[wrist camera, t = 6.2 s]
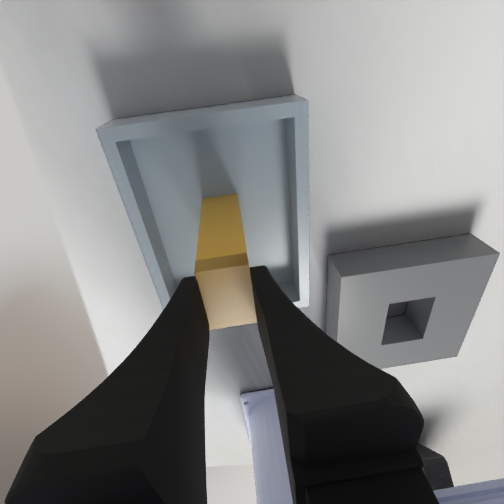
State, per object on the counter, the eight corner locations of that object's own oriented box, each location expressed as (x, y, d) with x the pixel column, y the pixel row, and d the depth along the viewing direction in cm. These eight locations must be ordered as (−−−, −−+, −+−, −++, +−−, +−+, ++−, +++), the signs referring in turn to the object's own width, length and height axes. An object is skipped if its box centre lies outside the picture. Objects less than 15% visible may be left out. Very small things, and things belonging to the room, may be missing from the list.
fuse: (244, 239, 18) (257, 322, 12) (212, 244, 18) (209, 330, 12) (237, 193, 17) (248, 264, 11) (202, 198, 17) (194, 272, 11)
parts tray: (300, 282, 21) (309, 306, 19) (175, 301, 21) (170, 327, 19) (295, 94, 15) (308, 100, 13) (112, 119, 14) (95, 129, 12)
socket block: (437, 332, 26) (456, 356, 24) (324, 350, 26) (334, 376, 24) (470, 233, 20) (500, 253, 18) (328, 255, 20) (341, 277, 18)
